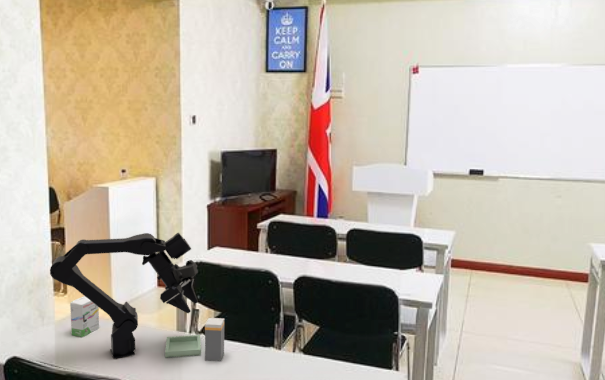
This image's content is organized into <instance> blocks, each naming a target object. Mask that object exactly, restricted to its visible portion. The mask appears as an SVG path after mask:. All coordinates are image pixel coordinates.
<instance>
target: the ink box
mask: <svg viewBox="0 0 605 380" xmlns="http://www.w3.org/2000/svg"><path fill="white" fill-rule="evenodd" d="M69 307H70V325H71V326H70V327H71V336H75V337H80V338H84V337H85V336H87V335H89V334H90V333H91V334H92V332H94V331H96V330H98V329H99V328H100V312H99V309H100V308H99V307H98V306H97V305H96V304H94V303H93V302H92V301H90V300H89V299H88V298H87V297H85V296H84V295H83V296H82V297H79V298H76V299H74V300H72V301H71V302H70V305H69Z"/></svg>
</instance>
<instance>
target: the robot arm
mask: <svg viewBox="0 0 605 380" xmlns="http://www.w3.org/2000/svg"><path fill="white" fill-rule="evenodd" d="M191 250H192V247H191V246H190V244H189V243H188V241H187V239H185V238H184V237H183V236H182V235H181V233H180V232H176V234H174V235H173V236H172V237H170V238H169V239H167V240H164V239H160V238H156V237H155V236H154V235H153V234H152V233H150V232H149V233H148V232H143V233H139V234H135V235H132V236H129V237H126V238H123V237H122V238H105V239H80V240H79V241H77V242H76V244H75V245H74V246H73V247H72V248H70V249H69V250H68V251H67V252H66V253H64V254H63V255H61V256H57V257H56V258H55V259H54V260H53V262H52V265H51V266H50V268H49V274H50V277H51V278H52V279H54V280H56V281H58V282H60V283H61V284H63V285H66V286H70V287H72V288H73V289H75V290H77V291H78V292H79V293H81V294H82V295H83V296H85V297H87V298H88V299H89V300H90V301H92V302H93V303H94V304H96V305H97V306H98V307H99V309H100V310H102V311H103V312H104V313H106V314H107V315H108V317H110V319H111V321H112V322H113V323H112V326H111V327H112V328H111V329H112V330H111V334H110V345H111V346H110V348H109V352H110V353H111V355H112V358H113V359H119V358H123V357H124V358H125V357H129V356H134V355H135V353H136V352H135V351H136V338H135V336H134V333H133V332H134V331H136V330H137V328H138V326H139V320H138V319H139V318H138V312H137V309H136V307H133V306H131V304H130V303H129V302H128V301H125V302H124V304H122V303H120V302H118V301H116V300H115V299H113V297H112V296H110V295H109V294H108V293H107V292H105V291H104V290H102V289H101V288H100V287H98V286H97V285H96V284H95V283H94V282H92V281H91V280H90V279H88V278H87V277H86V276H85V275H84V274H83V273H82V271H81V270H80V268H79V267H78V265H77V264H78V263H79V262H80V261H81V260H82V258H84V256H86V255H97V254H101V255H102V254H115V253H116V254H117V253H130V254H133V255H138V256H143V257H142V263H141V265H142V266H144V265H146V264H147V263H149V265H150V266H151V267H152V268H153V270H154V271H155V273H156V274H157V277H156V278H157V280H158V281H160V280H161V281H162V283H163V284H164V285H165V287H164V289H165V290H163V291H162V292H161V293H160V296H159V297H160V298H159V299H160V300H161V302H162V303H163V304H166V305H167V304H168V305H170V306H173V307H175V308H177V309H179V310H181V311H182V312H184V313H186V314H190V313H191V312H192V311H191V309H190V306H189V304H188V303H187V301H186V299H185V298H184V297H186V298H187V299H188V300H189V301H191V302H192V303H194V304H197V303H198V302H199V301H198V297H197V295H196V293H195V289H194V286H193V285H194V280H195V278H194V277H195V276H196V275H197V274H198V273H199V271H198V265H197V263H196V262H194V261H193V260H192V259H190V260H187V261H186V262H185V265H182V266H179V265H178V264H176V263H175V264H174V263H173V261H172V260H173V259H174V260H179V259H180V258H181V257H182V256H184V255H185V254H187V253H188V252H190V251H191ZM166 253H167V254H166ZM171 259H172V260H171Z"/></svg>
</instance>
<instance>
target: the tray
mask: <svg viewBox="0 0 605 380" xmlns="http://www.w3.org/2000/svg"><path fill="white" fill-rule="evenodd" d="M201 341H202V340H201V334H191V335H179V336H178V335H174V336H166V341H165V350H164V354H165V355H164V358H165V359H168V358H169V359H170V358H172V359H173V358H182V357H185V358H186V357H198V356H200V357H201V356H202V347H201V346H202V344H201V343H202V342H201Z"/></svg>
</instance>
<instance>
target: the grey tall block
mask: <svg viewBox="0 0 605 380" xmlns="http://www.w3.org/2000/svg"><path fill="white" fill-rule="evenodd" d="M224 356H225V318H221V317H220V318H218V317H208V318H207V320H206V322H205V324H204V361H205V362H222V361H223V358H224Z"/></svg>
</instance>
